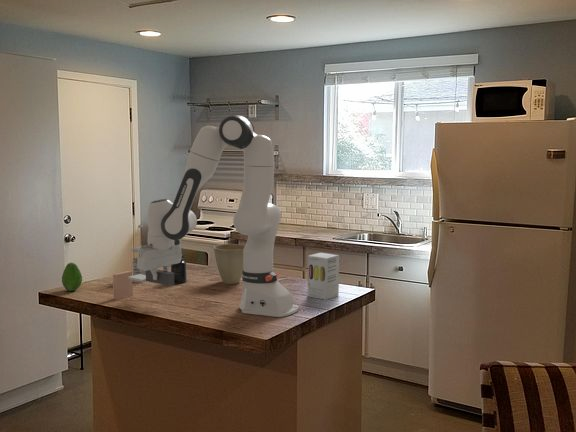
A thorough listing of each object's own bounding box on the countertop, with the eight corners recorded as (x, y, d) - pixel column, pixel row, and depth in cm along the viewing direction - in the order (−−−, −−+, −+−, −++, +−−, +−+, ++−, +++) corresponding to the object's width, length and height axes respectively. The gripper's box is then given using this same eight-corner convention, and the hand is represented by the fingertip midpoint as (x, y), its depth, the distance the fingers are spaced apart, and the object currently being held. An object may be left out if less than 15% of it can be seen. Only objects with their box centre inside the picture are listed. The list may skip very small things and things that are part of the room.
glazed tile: (132, 295, 239) (131, 271, 238) (117, 299, 233) (116, 274, 231) (128, 294, 240) (127, 270, 239) (113, 299, 234) (112, 274, 233)
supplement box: (306, 296, 238) (307, 255, 236) (319, 292, 245) (320, 252, 243) (326, 300, 232) (327, 258, 230) (339, 295, 239) (339, 254, 237)
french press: (143, 276, 274) (141, 222, 271) (160, 279, 267) (159, 224, 264) (126, 280, 266) (124, 225, 263) (143, 283, 259) (141, 227, 256)
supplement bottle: (189, 281, 264) (189, 254, 263) (179, 284, 258) (178, 257, 257) (178, 279, 268) (177, 253, 266) (167, 282, 262) (167, 255, 261)
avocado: (66, 294, 241) (65, 265, 240) (59, 290, 247) (58, 262, 246) (85, 290, 247) (84, 262, 245) (78, 287, 253) (77, 259, 251)
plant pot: (208, 284, 258) (208, 248, 256) (222, 277, 272) (222, 243, 270) (240, 287, 253) (240, 250, 251) (253, 279, 267) (253, 245, 265)
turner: (177, 283, 224) (177, 271, 223) (165, 286, 218) (165, 274, 218) (139, 276, 234) (139, 265, 234) (128, 278, 229) (127, 267, 229)
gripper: (145, 247, 212) (145, 285, 214) (184, 239, 229) (184, 274, 231) (132, 245, 215) (133, 282, 217) (172, 238, 232) (172, 272, 234)
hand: (160, 278), depth 224 cm, fingers closed on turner, 3 cm apart
